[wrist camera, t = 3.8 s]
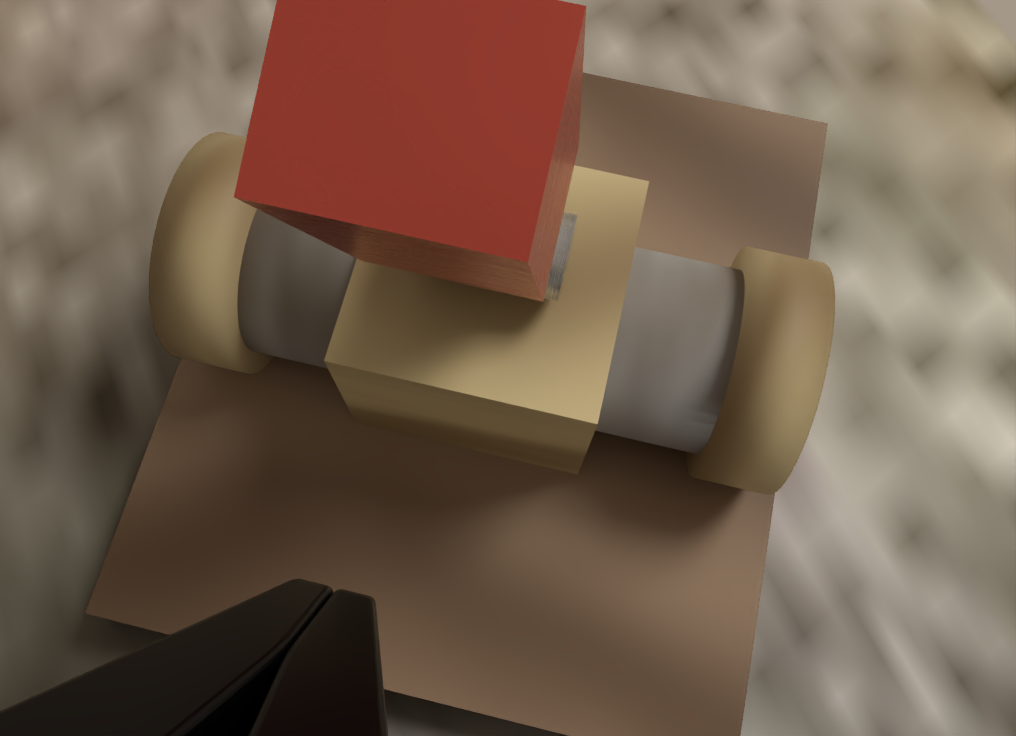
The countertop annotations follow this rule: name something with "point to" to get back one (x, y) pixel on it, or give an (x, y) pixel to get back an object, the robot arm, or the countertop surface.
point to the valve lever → (424, 135)
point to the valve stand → (501, 426)
